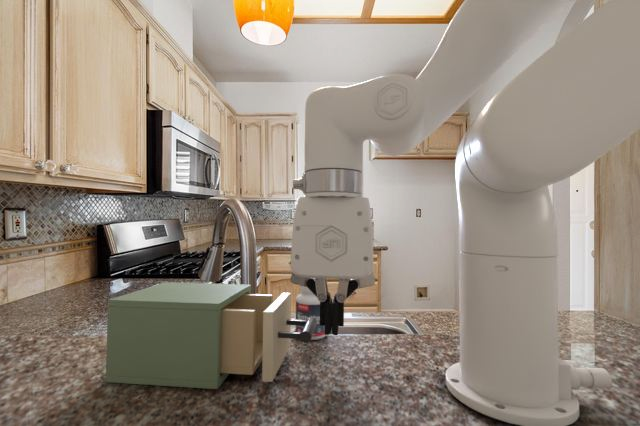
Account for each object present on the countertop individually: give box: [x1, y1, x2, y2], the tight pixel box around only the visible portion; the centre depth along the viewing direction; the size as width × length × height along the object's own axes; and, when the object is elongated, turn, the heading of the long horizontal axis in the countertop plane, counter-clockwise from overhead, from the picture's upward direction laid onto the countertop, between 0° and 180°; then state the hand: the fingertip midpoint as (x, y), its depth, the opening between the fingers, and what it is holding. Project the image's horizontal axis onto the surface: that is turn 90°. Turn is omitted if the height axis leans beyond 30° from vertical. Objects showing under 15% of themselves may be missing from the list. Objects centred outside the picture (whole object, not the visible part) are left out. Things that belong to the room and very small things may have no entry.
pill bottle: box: [294, 285, 327, 341], centre depth 54 cm, size 5×5×9 cm
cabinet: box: [105, 281, 252, 390], centre depth 43 cm, size 14×12×10 cm
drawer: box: [220, 292, 317, 383], centre depth 42 cm, size 17×10×8 cm, turn 84°
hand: (331, 331), depth 41 cm, fingers closed
